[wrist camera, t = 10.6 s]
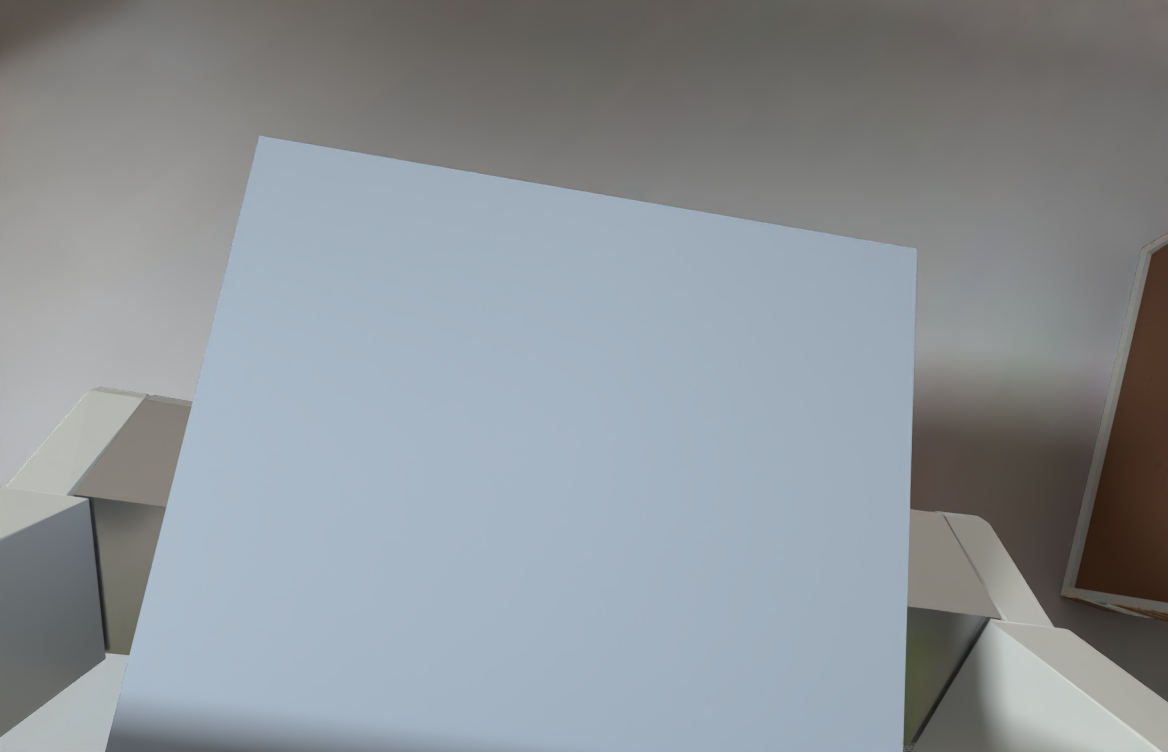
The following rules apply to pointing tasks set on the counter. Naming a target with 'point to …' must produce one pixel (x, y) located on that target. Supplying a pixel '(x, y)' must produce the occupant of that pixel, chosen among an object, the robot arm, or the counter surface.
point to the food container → (1130, 464)
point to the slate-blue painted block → (531, 478)
